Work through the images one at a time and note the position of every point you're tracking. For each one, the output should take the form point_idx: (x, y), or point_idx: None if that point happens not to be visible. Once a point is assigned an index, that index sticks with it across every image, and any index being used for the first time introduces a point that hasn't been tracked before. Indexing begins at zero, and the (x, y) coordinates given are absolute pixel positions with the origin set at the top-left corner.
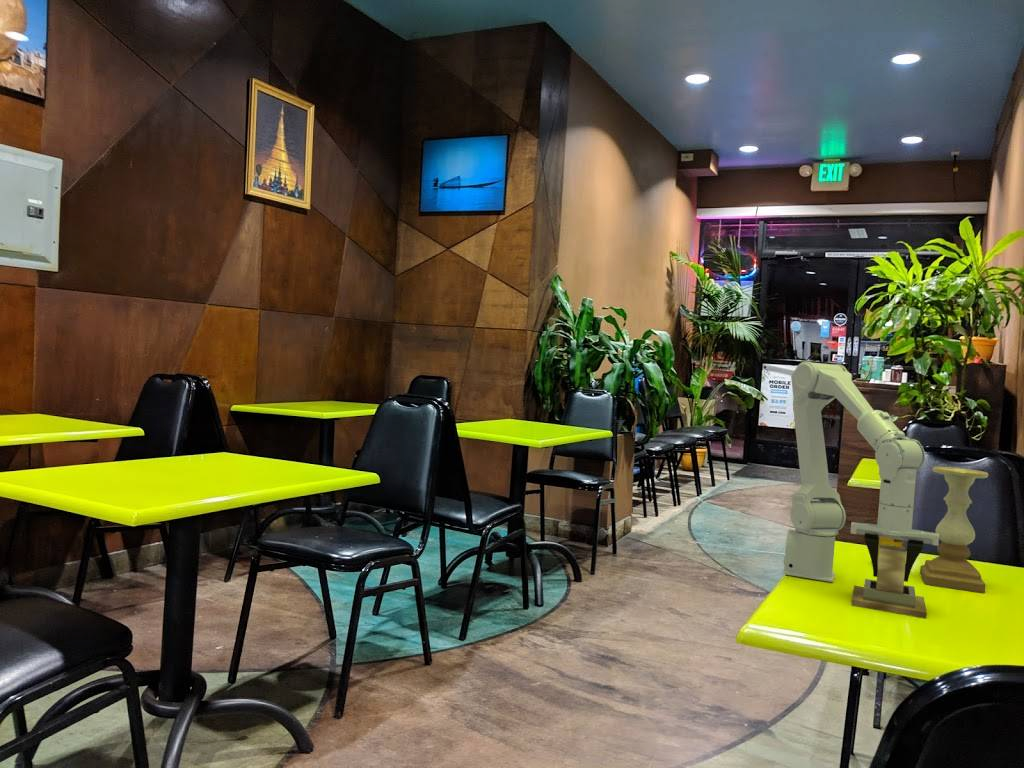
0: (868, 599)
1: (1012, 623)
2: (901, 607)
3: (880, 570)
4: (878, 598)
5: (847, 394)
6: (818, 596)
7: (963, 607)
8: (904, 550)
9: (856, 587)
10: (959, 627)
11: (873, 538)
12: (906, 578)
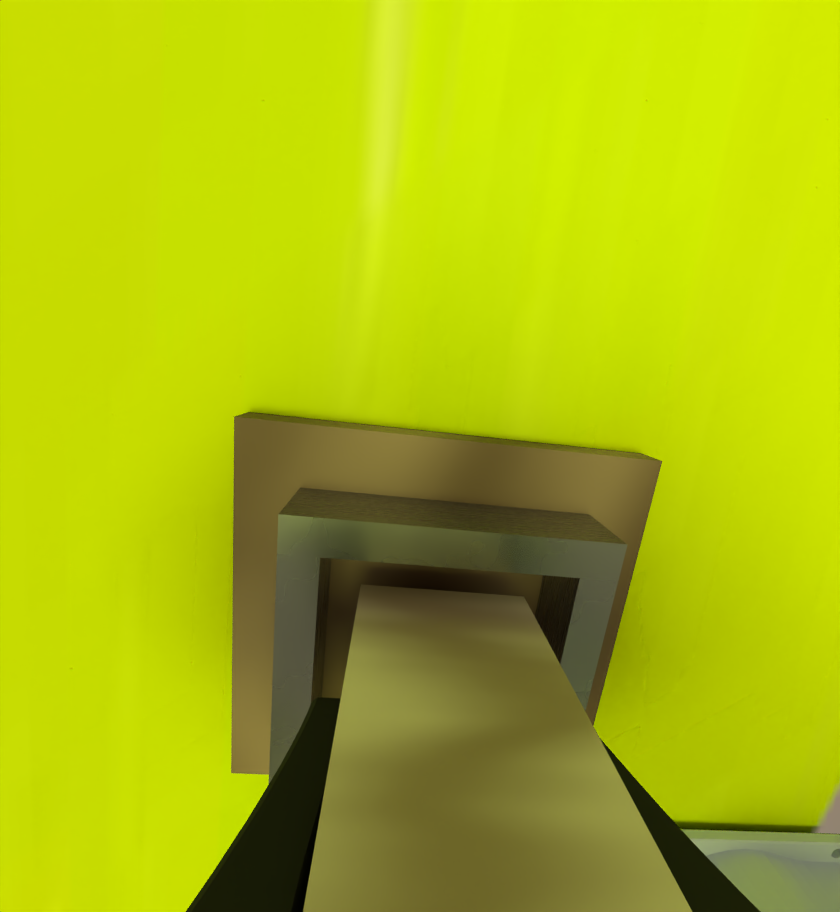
0: (561, 512)
1: None
2: (381, 452)
3: (570, 730)
4: (512, 514)
5: None
6: (784, 538)
7: (50, 768)
8: None
9: None
10: (65, 319)
11: None
12: (320, 716)
